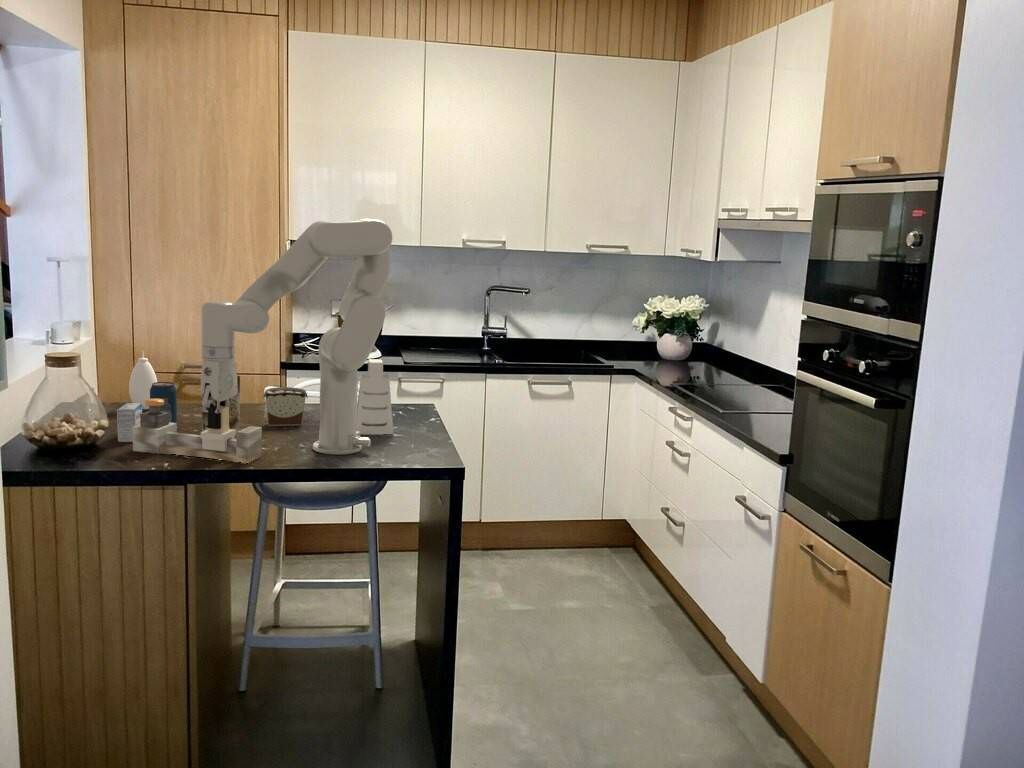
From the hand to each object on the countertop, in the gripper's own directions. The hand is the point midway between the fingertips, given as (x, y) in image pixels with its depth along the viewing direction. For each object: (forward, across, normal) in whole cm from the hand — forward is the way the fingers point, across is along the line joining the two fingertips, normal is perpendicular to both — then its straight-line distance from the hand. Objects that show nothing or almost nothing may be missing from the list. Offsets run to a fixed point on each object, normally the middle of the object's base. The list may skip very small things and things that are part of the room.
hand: (218, 426), depth 223 cm
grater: (+8, +42, -25) cm, 49 cm away
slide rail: (+8, 0, +5) cm, 9 cm away
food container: (+8, +39, +1) cm, 40 cm away
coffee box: (+8, +18, +9) cm, 22 cm away
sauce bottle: (+8, +37, +45) cm, 58 cm away
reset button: (-1, 0, +17) cm, 17 cm away
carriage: (+6, 0, 0) cm, 6 cm away
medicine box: (+8, +6, +28) cm, 30 cm away
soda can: (+8, +21, +28) cm, 36 cm away
